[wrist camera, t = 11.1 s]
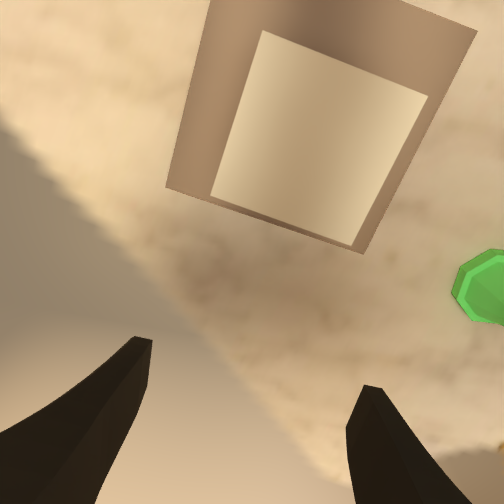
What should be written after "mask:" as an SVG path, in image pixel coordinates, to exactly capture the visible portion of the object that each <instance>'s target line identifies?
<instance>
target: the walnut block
mask: <svg viewBox="0 0 504 504" xmlns="http://www.w3.org/2000/svg"><path fill="white" fill-rule="evenodd" d="M262 30H264V31H266V32H269V33H271V34H274V35H276V36H279V37H281V38H284V39H286V40H289V41H291V42H294V43H296V44H299V45H301V46H304V47H306V48H309V49H311V50H314V51H316V52H319V53H321V54H324V55H326V56H329V57H331V58H334V59H336V60H339V61H341V62H344V63H346V64H349V65H351V66H354V67H356V68H359V69H361V70H364V71H366V72H369V73H371V74H374V75H376V76H379V77H381V78H384V79H386V80H389V81H392V82H394V83H397V84H399V85H402V86H404V87H407V88H409V89H412V90H414V91H417V92H419V93H422V94H424V95H427V96H428V98H427V100H426V102H425V104H424V105H423V107H422V109H421V111H420V113H419V115H418V117H417V119H416V121H415V123H414V125H413V127H412V129H411V131H410V133H409V135H408V137H407V138H406V140H405V142H404V144H403V146H402V148H401V150H400V152H399V154H398V156H397V158H396V160H395V162H394V164H393V166H392V168H391V170H390V171H389V173H388V175H387V177H386V179H385V181H384V183H383V185H382V187H381V189H380V191H379V193H378V195H377V197H376V199H375V201H374V203H373V204H372V206H371V208H370V210H369V212H368V214H367V216H366V218H365V220H364V222H363V224H362V226H361V228H360V230H359V232H358V234H357V236H356V237H355V239H354V241H353V243H352V245H351V246H350V245H347V244H344V243H341V242H338V241H336V240H333V239H330V238H327V237H324V236H322V235H319V234H316V233H313V232H311V231H308V230H305V229H302V228H299V227H297V226H294V225H291V224H288V223H285V222H283V221H280V220H277V219H274V218H272V217H269V216H266V215H263V214H260V213H258V212H255V211H252V210H249V209H246V208H244V207H241V206H238V205H235V204H232V203H230V202H227V201H224V200H221V199H219V198H216V197H213V196H210V194H211V191H212V188H213V185H214V182H215V179H216V175H217V172H218V169H219V166H220V163H221V160H222V157H223V153H224V150H225V147H226V144H227V141H228V138H229V134H230V131H231V128H232V125H233V122H234V119H235V116H236V112H237V109H238V106H239V103H240V100H241V97H242V93H243V90H244V87H245V84H246V81H247V78H248V75H249V71H250V68H251V65H252V62H253V59H254V56H255V52H256V49H257V46H258V43H259V40H260V37H261V34H262ZM477 32H478V31H477V30H474V29H472V28H469V27H467V26H464V25H461V24H459V23H456V22H454V21H451V20H449V19H446V18H444V17H441V16H439V15H436V14H433V13H431V12H428V11H426V10H423V9H421V8H418V7H416V6H413V5H411V4H408V3H405V2H403V1H400V0H211V1H210V5H209V9H208V13H207V17H206V21H205V25H204V30H203V34H202V38H201V42H200V46H199V50H198V54H197V58H196V62H195V67H194V71H193V75H192V79H191V83H190V87H189V91H188V95H187V99H186V104H185V108H184V112H183V116H182V120H181V124H180V128H179V132H178V136H177V141H176V145H175V149H174V153H173V157H172V161H171V165H170V169H169V173H168V178H167V182H166V186H165V187H166V188H169V189H172V190H175V191H177V192H180V193H183V194H186V195H189V196H192V197H195V198H198V199H201V200H204V201H207V202H210V203H213V204H216V205H219V206H222V207H225V208H228V209H231V210H233V211H236V212H239V213H242V214H245V215H248V216H251V217H254V218H257V219H260V220H263V221H266V222H269V223H272V224H275V225H278V226H281V227H284V228H287V229H289V230H292V231H295V232H298V233H301V234H304V235H307V236H310V237H313V238H316V239H319V240H322V241H325V242H328V243H331V244H334V245H337V246H340V247H343V248H345V249H348V250H351V251H354V252H357V253H360V254H363V255H364V253H365V251H366V249H367V247H368V245H369V243H370V241H371V239H372V237H373V235H374V233H375V231H376V229H377V227H378V225H379V223H380V221H381V219H382V218H383V216H384V214H385V212H386V210H387V208H388V206H389V204H390V202H391V200H392V198H393V196H394V194H395V192H396V190H397V188H398V186H399V184H400V182H401V180H402V178H403V176H404V174H405V173H406V171H407V169H408V167H409V165H410V163H411V161H412V159H413V157H414V155H415V153H416V151H417V149H418V147H419V145H420V143H421V141H422V139H423V137H424V135H425V133H426V131H427V129H428V128H429V126H430V124H431V122H432V120H433V118H434V116H435V114H436V112H437V110H438V108H439V106H440V104H441V102H442V100H443V98H444V96H445V94H446V92H447V90H448V88H449V86H450V84H451V83H452V81H453V79H454V77H455V75H456V73H457V71H458V69H459V67H460V65H461V63H462V61H463V59H464V57H465V55H466V53H467V51H468V49H469V47H470V45H471V43H472V41H473V39H474V38H475V36H476V34H477Z"/></svg>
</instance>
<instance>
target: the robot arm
mask: <svg viewBox="0 0 504 504" xmlns="http://www.w3.org/2000/svg"><path fill="white" fill-rule="evenodd" d="M151 349H152V340H150V339H145V338H141V337H136V336H134V337H132V338H131V339H130V340H129V341H128V342H127V343H126V344H124V346H122V348H120V349H119V350H118V351H117V352H116V353H115V354H114V355H113V356H112V357H110V358H109V359H108V360H107V361H106V362H105V363H103V364H102V365H101V366H100V367H99V368H97V369H96V370H95V371H94V372H93V373H91V374H90V375H89V376H88V377H86V378H85V379H84V380H82V381H81V382H80V383H78V384H77V385H76V386H74V387H73V388H72V389H70V390H69V391H68V392H66V393H65V394H63V395H62V396H61V397H59V398H58V399H56V400H55V401H53V402H52V403H50V404H49V405H47V406H46V407H44V408H42V409H41V410H39V411H38V412H36V413H34V414H33V415H31V416H29V417H27V418H26V419H24V420H22V421H21V422H19V423H17V424H15V425H14V426H12V427H10V428H8V429H6V430H4V431H2V432H1V433H0V504H95V501H96V499H97V496H98V494H99V491H100V489H101V487H102V485H103V483H104V480H105V478H106V476H107V474H108V472H109V470H110V468H111V466H112V464H113V462H114V460H115V458H116V456H117V454H118V452H119V449H120V448H121V446H122V444H123V442H124V440H125V438H126V436H127V434H128V432H129V430H130V428H131V426H132V423H133V421H134V419H135V417H136V415H137V413H138V410H139V407H140V404H141V402H142V399H143V396H144V393H145V391H146V388H147V382H148V375H149V366H150V358H151ZM346 444H347V458H348V464H349V470H350V475H351V481H352V486H353V492H354V497H355V502H356V504H472V503H471V502H470V501H469V500H468V499H467V498H466V497H465V495H464V494H463V493H462V492H461V491H460V490H459V489H458V488H457V487H456V486H455V484H454V483H453V482H452V481H451V480H450V479H449V477H448V476H447V475H446V474H445V473H444V471H443V470H442V469H441V468H440V467H439V465H438V464H437V463H436V462H435V460H434V459H433V458H432V457H431V455H430V454H429V453H428V452H427V450H426V449H425V448H424V446H423V445H422V444H421V442H420V441H419V440H418V438H417V437H416V436H415V434H414V433H413V431H412V430H411V429H410V427H409V426H408V425H407V423H406V422H405V420H404V419H403V417H402V416H401V415H400V413H399V412H398V410H397V409H396V407H395V406H394V405H393V403H392V402H391V400H390V399H389V397H388V396H387V395H386V393H385V392H384V391H383V389H382V388H378V387H373V386H368V385H364V386H363V389H362V391H361V393H360V395H359V398H358V400H357V402H356V405H355V407H354V409H353V412H352V414H351V416H350V419H349V421H348V423H347V425H346Z"/></svg>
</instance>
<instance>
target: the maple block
mask: <svg viewBox="0 0 504 504" xmlns="http://www.w3.org/2000/svg"><path fill="white" fill-rule="evenodd" d="M427 98H428V96H427V95H424V94H422V93H419V92H417V91H414V90H412V89H409V88H407V87H404V86H402V85H399V84H397V83H394V82H392V81H389V80H386V79H384V78H381V77H379V76H376V75H374V74H371V73H369V72H366V71H364V70H361V69H359V68H356V67H354V66H351V65H349V64H346V63H344V62H341V61H339V60H336V59H334V58H331V57H329V56H326V55H324V54H321V53H319V52H316V51H314V50H311V49H309V48H306V47H304V46H301V45H299V44H296V43H294V42H291V41H289V40H286V39H284V38H281V37H279V36H276V35H274V34H271V33H269V32H266V31H264V30H262V34H261V37H260V40H259V43H258V46H257V49H256V52H255V56H254V59H253V62H252V65H251V68H250V71H249V75H248V78H247V81H246V84H245V87H244V90H243V93H242V97H241V100H240V103H239V106H238V109H237V112H236V116H235V119H234V122H233V125H232V128H231V131H230V134H229V138H228V141H227V144H226V147H225V150H224V153H223V157H222V160H221V163H220V166H219V169H218V172H217V175H216V179H215V182H214V185H213V188H212V191H211V194H210V196H213V197H216V198H219V199H221V200H224V201H227V202H230V203H232V204H235V205H238V206H241V207H244V208H246V209H249V210H252V211H255V212H258V213H260V214H263V215H266V216H269V217H272V218H274V219H277V220H280V221H283V222H285V223H288V224H291V225H294V226H297V227H299V228H302V229H305V230H308V231H311V232H313V233H316V234H319V235H322V236H324V237H327V238H330V239H333V240H336V241H338V242H341V243H344V244H347V245H350V246H351V245H352V243H353V241H354V239H355V237H356V236H357V234H358V232H359V230H360V228H361V226H362V224H363V222H364V220H365V218H366V216H367V214H368V212H369V210H370V208H371V206H372V204H373V203H374V201H375V199H376V197H377V195H378V193H379V191H380V189H381V187H382V185H383V183H384V181H385V179H386V177H387V175H388V173H389V171H390V170H391V168H392V166H393V164H394V162H395V160H396V158H397V156H398V154H399V152H400V150H401V148H402V146H403V144H404V142H405V140H406V138H407V137H408V135H409V133H410V131H411V129H412V127H413V125H414V123H415V121H416V119H417V117H418V115H419V113H420V111H421V109H422V107H423V105H424V104H425V102H426V100H427Z"/></svg>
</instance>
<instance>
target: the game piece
mask: <svg viewBox="0 0 504 504" xmlns="http://www.w3.org/2000/svg"><path fill="white" fill-rule="evenodd" d="M451 293H452V295H453V296H454V297H455V299H456V300H457V301H458V303H459V304H460V306H461V307H462V308H463V310H464V311H465V312H466V314H467V315H468V316H469V318H470V319H471V320H472V321H479V322H488V323H497V324H500V325H502V326H504V250H496V249H489V250H487V251H486V252H484V253H482V254H481V255H479V256H477V257H475V258H474V259H472V260H470V261H469V262H467V263H465V264H463V265H462V266H460V269H459V272H458V275H457V278H456V281H455V283H454V286H453V289H452V292H451Z"/></svg>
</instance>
